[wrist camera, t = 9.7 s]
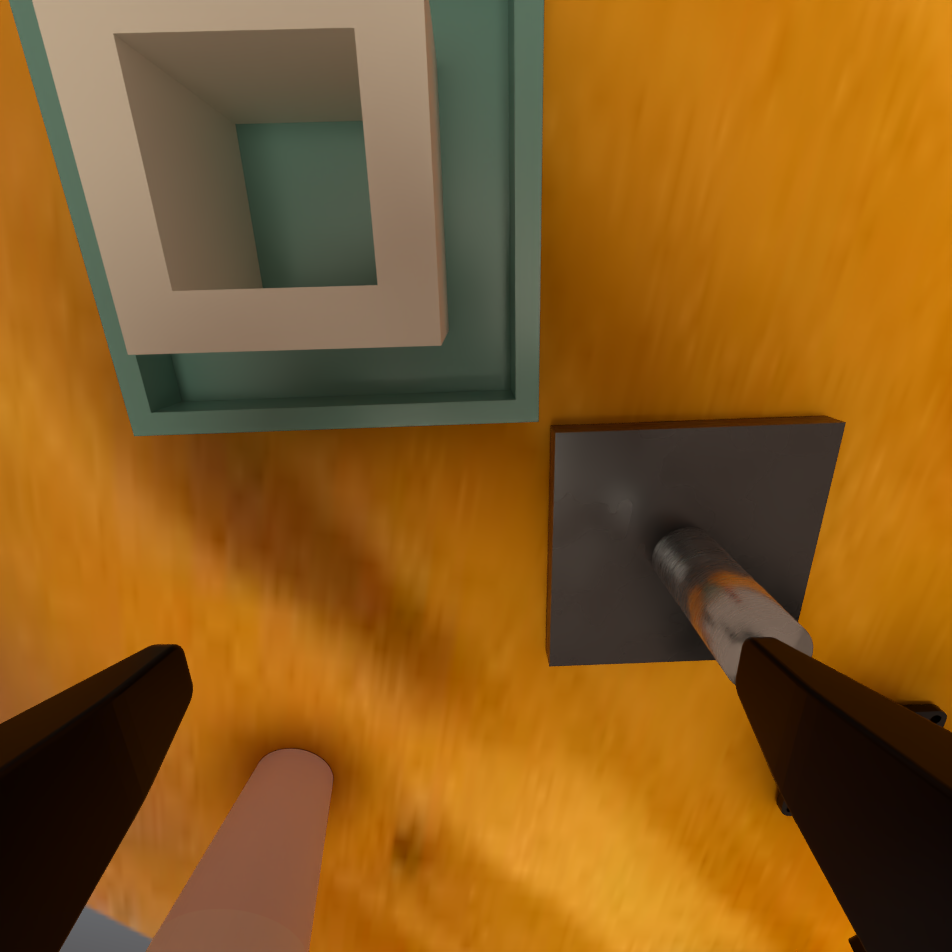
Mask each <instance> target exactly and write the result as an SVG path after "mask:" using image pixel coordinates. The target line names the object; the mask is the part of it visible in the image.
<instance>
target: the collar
mask: <svg viewBox="0 0 952 952" xmlns="http://www.w3.org/2000/svg"><path fill="white" fill-rule="evenodd" d="M32 2H33V6H34V9H35V13H36V17H37V20H38V24H39V28H40V31H41V35H42V39H43V43H44V46H45V50H46V54H47V57H48V61H49V65H50V68H51V72H52V76H53V80H54V83H55V87H56V91H57V94H58V98H59V102H60V105H61V109H62V113H63V117H64V120H65V124H66V128H67V131H68V135H69V139H70V142H71V146H72V150H73V153H74V157H75V161H76V165H77V168H78V172H79V176H80V179H81V183H82V187H83V190H84V194H85V198H86V202H87V205H88V209H89V213H90V216H91V220H92V224H93V227H94V231H95V235H96V239H97V242H98V246H99V250H100V253H101V257H102V261H103V264H104V268H105V272H106V275H107V279H108V283H109V287H110V290H111V294H112V298H113V301H114V305H115V309H116V312H117V316H118V320H119V324H120V327H121V331H122V335H123V338H124V342H125V346H126V349H127V353H128V355H141V354H175V353H209V352H243V351H277V350H310V349H344V348H378V347H412V346H441V345H442V343H443V341H444V339H445V337H446V335H447V333H448V331H449V324H448V301H447V279H446V257H445V234H444V212H443V189H442V167H441V145H440V122H439V100H438V77H437V59H436V51H435V43H434V35H433V28H432V20H431V12H430V4H429V0H32ZM334 121H363V130H364V141H365V152H366V163H367V174H368V185H369V196H370V207H371V218H372V229H373V240H374V251H375V262H376V273H377V284H378V285H365V286H330V287H295V288H263V286H262V280H261V274H260V268H259V263H258V257H257V251H256V245H255V239H254V233H253V227H252V221H251V215H250V209H249V203H248V197H247V191H246V185H245V179H244V173H243V167H242V161H241V155H240V149H239V143H238V138H237V132H236V126H235V124H257V123H295V122H334Z"/></svg>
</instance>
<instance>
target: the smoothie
mask: <svg viewBox="0 0 952 952" xmlns="http://www.w3.org/2000/svg"><path fill="white" fill-rule="evenodd" d="M332 786H333V774H332V771H331V769H330V767H329V766H328V764H327V763H326V762H325V761H324V760H323V759H321V758H320V757H319V756H317V755H315V754H313V753H311V752H308V751H305V750H300V749H281V750H277V751H274V752H271V753H269V754H268V755H266V756H265V757H264V758H262V759H261V761H260V762H259V763H258V765H257V767H256V768H255V770H254V772H253V773H252V775H251V777H250V778H249V780H248V782H247V783H246V785H245V787H244V788H243V790H242V792H241V794H240V795H239V797H238V799H237V800H236V802H235V804H234V805H233V807H232V809H231V810H230V812H229V814H228V815H227V817H226V819H225V820H224V822H223V824H222V825H221V827H220V829H219V830H218V832H217V834H216V835H215V837H214V839H213V840H212V842H211V844H210V845H209V847H208V849H207V850H206V852H205V854H204V855H203V857H202V859H201V860H200V862H199V864H198V865H197V867H196V869H195V870H194V872H193V874H192V875H191V877H190V879H189V880H188V882H187V884H186V885H185V887H184V889H183V890H182V892H181V894H180V895H179V897H178V899H177V900H176V902H175V904H174V905H173V907H172V909H171V910H170V912H169V914H168V915H167V917H166V919H165V920H164V922H163V924H162V925H161V927H160V929H159V930H158V932H157V933H156V935H155V936H154V938H153V940H152V942H151V943H150V945H149V947H148V948H147V950H146V952H309V946H310V939H311V932H312V925H313V918H314V911H315V904H316V897H317V890H318V883H319V876H320V869H321V862H322V855H323V848H324V841H325V834H326V827H327V820H328V813H329V807H330V800H331V793H332Z"/></svg>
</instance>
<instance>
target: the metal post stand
mask: <svg viewBox="0 0 952 952" xmlns="http://www.w3.org/2000/svg"><path fill="white" fill-rule="evenodd" d="M845 423H846V422H843V421H840V420H837V419H834V418H831V417H828V416H804V417H776V418H748V419H720V420H692V421H665V422H637V423H609V424H581V425H553V426H551V434H550V479H549V524H548V569H547V614H546V653H547V658H548V662H549V666H571V665H597V664H623V663H648V662H674V661H700V660H717V662H718V663H719V665H720V666H721V668H722V669H723V671H724V672H725V674H726V675H727V676H728V678H729V679H730V680H731V681H732V683H734V684H735V685H736V674H737V669H738V664H739V659H740V653H741V648H742V644H743V642H744V640H745V639H747V638H749V637H773V638H776V639H778V640H780V641H782V642H784V643H786V644H788V645H789V646H791V647H793V648H795V649H797V650H799V651H801V652H803V653H804V654H806V655H808V656H810V657H812V653H813V643H812V640H811V637H810V635H809V634H808V632H807V631H806V630H805V629H804V628H803V627H802V626H801V625H800V624H799V623H798V620H799V615H800V611H801V607H802V603H803V599H804V594H805V590H806V586H807V582H808V578H809V574H810V569H811V565H812V561H813V557H814V553H815V549H816V544H817V540H818V536H819V532H820V528H821V523H822V519H823V515H824V511H825V507H826V503H827V498H828V494H829V490H830V486H831V482H832V478H833V473H834V469H835V465H836V461H837V457H838V452H839V448H840V444H841V440H842V436H843V432H844V427H845Z"/></svg>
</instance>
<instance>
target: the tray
mask: <svg viewBox="0 0 952 952" xmlns="http://www.w3.org/2000/svg"><path fill="white" fill-rule="evenodd" d="M9 2H10V6H11V9H12V13H13V16H14V20H15V23H16V27H17V30H18V34H19V37H20V40H21V44H22V47H23V51H24V54H25V58H26V61H27V65H28V68H29V72H30V75H31V79H32V82H33V86H34V89H35V93H36V96H37V100H38V103H39V107H40V110H41V114H42V117H43V120H44V124H45V127H46V131H47V134H48V138H49V141H50V145H51V148H52V152H53V155H54V159H55V162H56V166H57V169H58V173H59V176H60V180H61V183H62V187H63V190H64V194H65V197H66V200H67V204H68V207H69V211H70V214H71V218H72V221H73V225H74V228H75V232H76V235H77V239H78V242H79V246H80V249H81V253H82V256H83V260H84V263H85V267H86V270H87V273H88V277H89V280H90V284H91V287H92V291H93V294H94V298H95V301H96V305H97V308H98V312H99V315H100V319H101V322H102V326H103V329H104V333H105V336H106V340H107V343H108V347H109V350H110V353H111V357H112V360H113V364H114V367H115V371H116V374H117V378H118V381H119V385H120V388H121V392H122V395H123V399H124V402H125V406H126V409H127V413H128V416H129V420H130V423H131V427H132V430H133V433H134V436H152V435H180V434H207V433H235V432H263V431H291V430H319V429H347V428H375V427H403V426H430V425H458V424H486V423H514V422H539V346H540V270H541V194H542V118H543V42H544V0H429V4H430V12H431V20H432V28H433V35H434V43H435V51H436V59H437V77H438V100H439V122H440V145H441V167H442V189H443V212H444V234H445V257H446V279H447V301H448V324H449V331H448V333H447V335H446V337H445V339H444V341H443V343H442V345H441V346H412V347H378V348H344V349H310V350H277V351H243V352H209V353H175V354H141V355H128V353H127V349H126V346H125V342H124V338H123V335H122V331H121V327H120V324H119V320H118V316H117V312H116V309H115V305H114V301H113V298H112V294H111V290H110V287H109V283H108V279H107V275H106V272H105V268H104V264H103V261H102V257H101V253H100V250H99V246H98V242H97V239H96V235H95V231H94V227H93V224H92V220H91V216H90V213H89V209H88V205H87V202H86V198H85V194H84V190H83V187H82V183H81V179H80V176H79V172H78V168H77V165H76V161H75V157H74V153H73V150H72V146H71V142H70V139H69V135H68V131H67V128H66V124H65V120H64V117H63V113H62V109H61V105H60V102H59V98H58V94H57V91H56V87H55V83H54V80H53V76H52V72H51V68H50V65H49V61H48V57H47V54H46V50H45V46H44V43H43V39H42V35H41V31H40V28H39V24H38V20H37V17H36V13H35V9H34V6H33V2H32V0H9ZM235 126H236V132H237V138H238V143H239V149H240V155H241V161H242V167H243V173H244V179H245V185H246V191H247V197H248V203H249V209H250V215H251V221H252V227H253V233H254V239H255V245H256V251H257V257H258V263H259V268H260V274H261V280H262V286H263V288H295V287H330V286H365V285H378V284H377V273H376V262H375V251H374V240H373V229H372V218H371V207H370V196H369V185H368V174H367V163H366V152H365V141H364V130H363V121H334V122H295V123H257V124H235Z"/></svg>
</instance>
